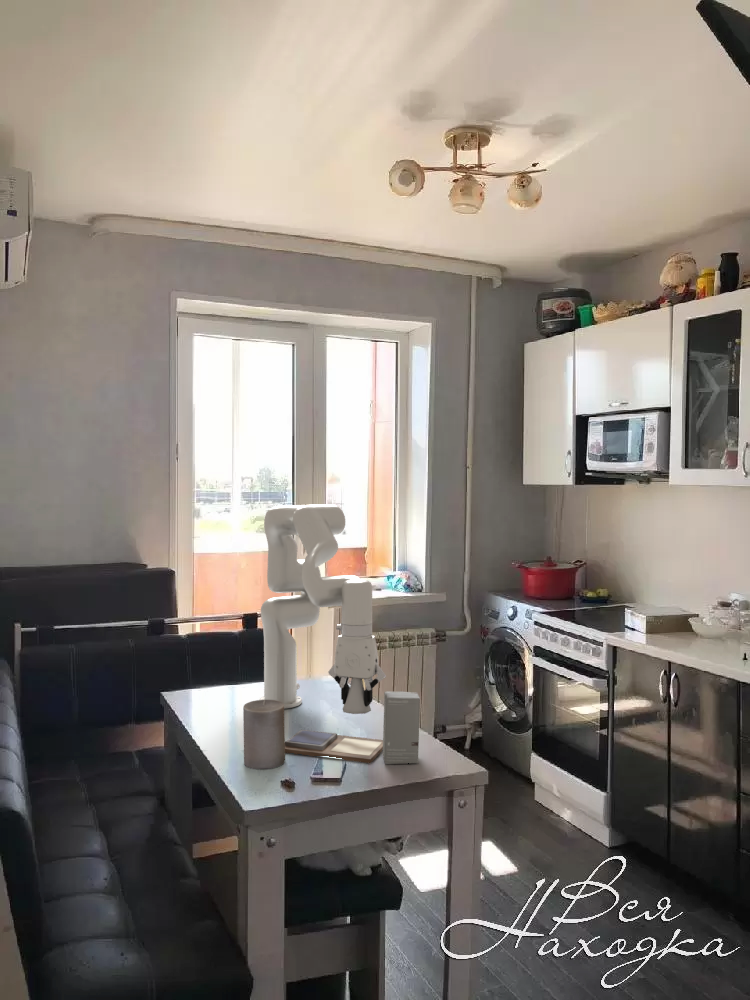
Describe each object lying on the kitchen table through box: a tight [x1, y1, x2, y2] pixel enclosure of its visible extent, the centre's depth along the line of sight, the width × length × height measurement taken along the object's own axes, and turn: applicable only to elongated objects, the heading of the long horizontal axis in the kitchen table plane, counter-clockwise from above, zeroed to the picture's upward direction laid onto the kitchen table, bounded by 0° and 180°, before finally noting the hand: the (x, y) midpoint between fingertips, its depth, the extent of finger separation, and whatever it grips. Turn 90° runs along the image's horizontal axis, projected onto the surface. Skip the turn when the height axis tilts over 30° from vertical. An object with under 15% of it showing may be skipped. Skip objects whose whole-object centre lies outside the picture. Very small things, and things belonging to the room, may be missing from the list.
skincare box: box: [382, 691, 421, 765], centre depth 194 cm, size 8×7×16 cm
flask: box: [342, 678, 372, 715], centre depth 199 cm, size 7×7×10 cm
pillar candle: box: [242, 699, 286, 770], centre depth 192 cm, size 10×10×15 cm
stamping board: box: [285, 729, 383, 764], centre depth 202 cm, size 14×24×2 cm, turn 72°
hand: (356, 703), depth 200 cm, fingers closed on flask, 4 cm apart
